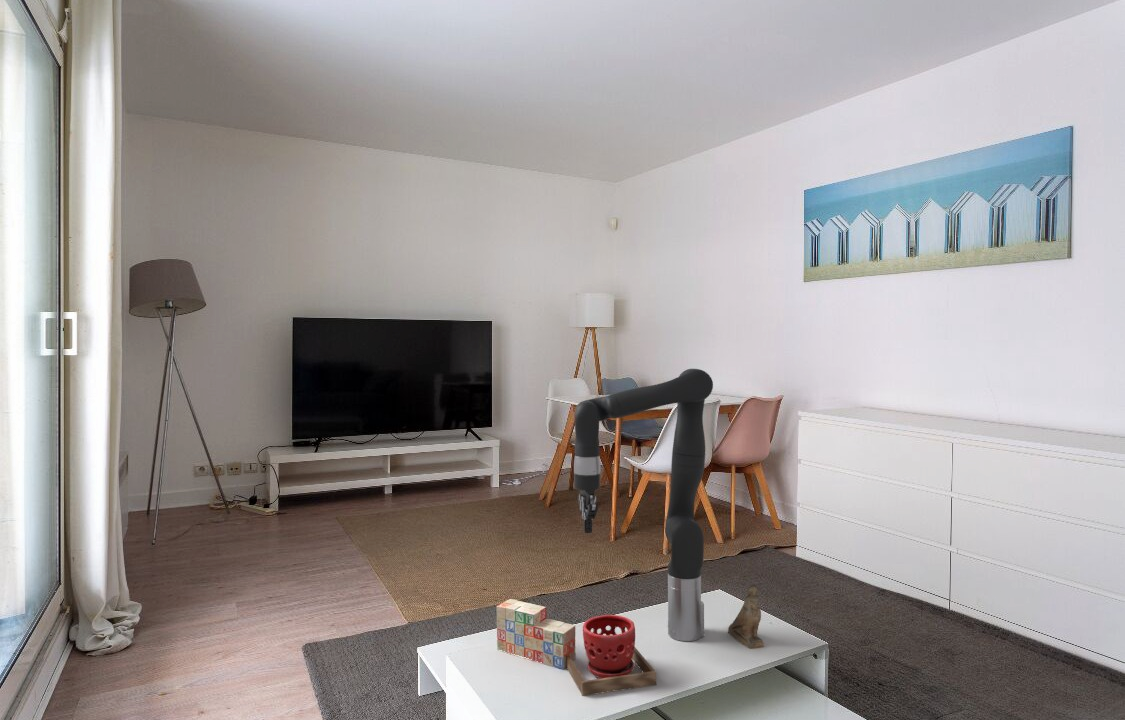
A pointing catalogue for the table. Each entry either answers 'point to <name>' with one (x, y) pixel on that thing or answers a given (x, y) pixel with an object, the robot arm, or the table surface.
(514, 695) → the table surface
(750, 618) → the brown carved statuette
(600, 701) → the table surface
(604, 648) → the plant pot
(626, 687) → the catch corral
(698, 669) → the table surface
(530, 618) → the stack of blocks
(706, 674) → the table surface
